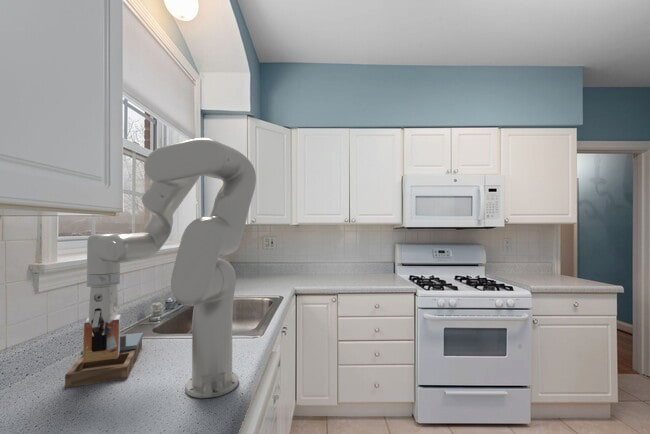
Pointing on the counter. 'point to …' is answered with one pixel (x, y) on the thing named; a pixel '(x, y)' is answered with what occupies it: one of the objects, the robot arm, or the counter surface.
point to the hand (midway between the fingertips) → (102, 345)
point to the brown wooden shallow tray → (102, 369)
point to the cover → (128, 341)
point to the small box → (112, 341)
